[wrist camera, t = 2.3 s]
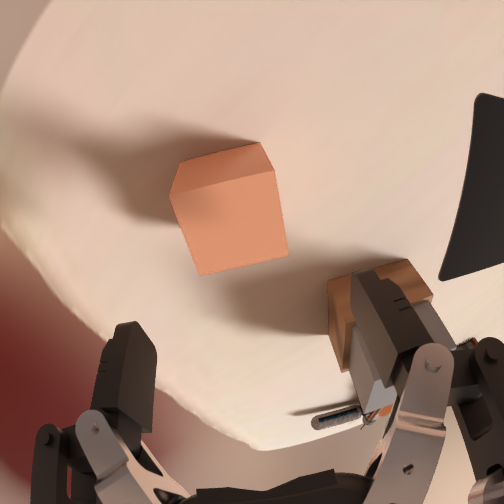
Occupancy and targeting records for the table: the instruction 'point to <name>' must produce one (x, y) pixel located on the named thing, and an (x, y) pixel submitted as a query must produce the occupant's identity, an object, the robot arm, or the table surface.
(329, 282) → the walnut base block
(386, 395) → the gray middle block
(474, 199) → the tablet
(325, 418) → the tool
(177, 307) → the table surface
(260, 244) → the terracotta block
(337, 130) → the table surface
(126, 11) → the table surface
